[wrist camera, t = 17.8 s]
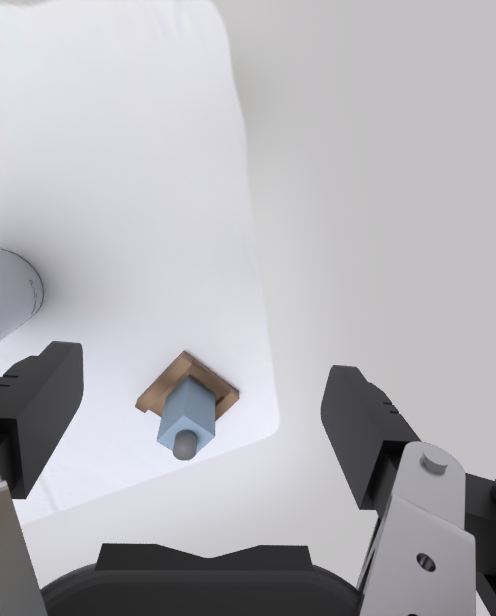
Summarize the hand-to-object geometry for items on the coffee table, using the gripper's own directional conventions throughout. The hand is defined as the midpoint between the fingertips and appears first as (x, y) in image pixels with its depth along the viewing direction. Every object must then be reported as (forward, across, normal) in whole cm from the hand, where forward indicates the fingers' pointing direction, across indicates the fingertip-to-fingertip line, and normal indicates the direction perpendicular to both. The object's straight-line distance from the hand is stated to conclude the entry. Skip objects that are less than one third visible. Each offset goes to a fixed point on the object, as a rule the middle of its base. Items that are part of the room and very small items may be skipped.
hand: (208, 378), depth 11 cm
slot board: (+32, +1, +24) cm, 40 cm away
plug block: (+32, +1, +23) cm, 39 cm away
